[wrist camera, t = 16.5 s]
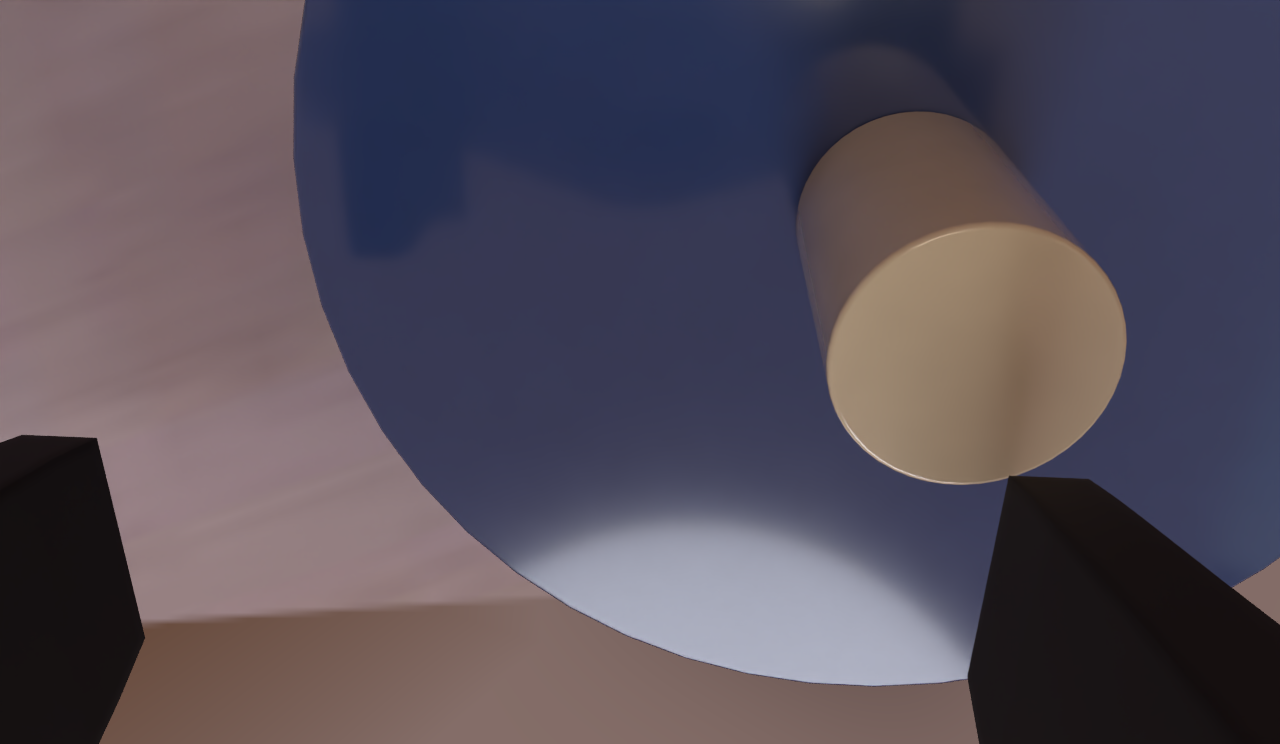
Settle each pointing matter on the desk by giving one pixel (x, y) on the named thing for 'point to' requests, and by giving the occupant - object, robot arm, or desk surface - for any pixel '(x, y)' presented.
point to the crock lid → (802, 294)
